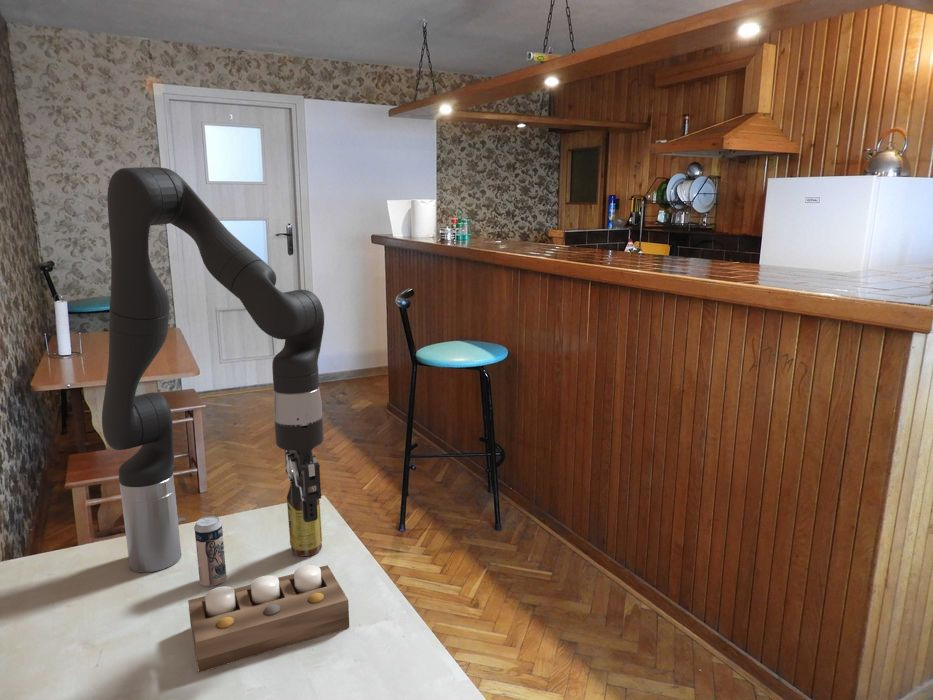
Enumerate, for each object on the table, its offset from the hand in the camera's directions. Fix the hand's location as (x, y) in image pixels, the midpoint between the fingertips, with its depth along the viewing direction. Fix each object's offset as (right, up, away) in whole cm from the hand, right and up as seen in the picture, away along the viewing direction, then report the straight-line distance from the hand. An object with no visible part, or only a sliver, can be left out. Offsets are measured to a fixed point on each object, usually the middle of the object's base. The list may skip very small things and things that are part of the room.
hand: (304, 510), depth 108 cm
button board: (-5, -19, -1) cm, 20 cm away
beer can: (-20, -16, +12) cm, 28 cm away
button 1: (-12, -15, -3) cm, 20 cm away
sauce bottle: (-5, -14, +23) cm, 27 cm away
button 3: (0, -14, +3) cm, 14 cm away
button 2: (-6, -15, 0) cm, 16 cm away
